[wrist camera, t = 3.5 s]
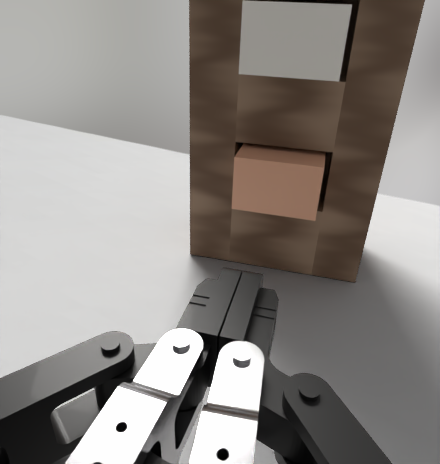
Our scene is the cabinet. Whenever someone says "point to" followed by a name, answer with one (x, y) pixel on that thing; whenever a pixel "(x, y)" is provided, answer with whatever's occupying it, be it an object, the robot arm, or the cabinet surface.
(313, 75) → the key middle
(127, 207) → the cabinet surface
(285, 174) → the block
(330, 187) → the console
